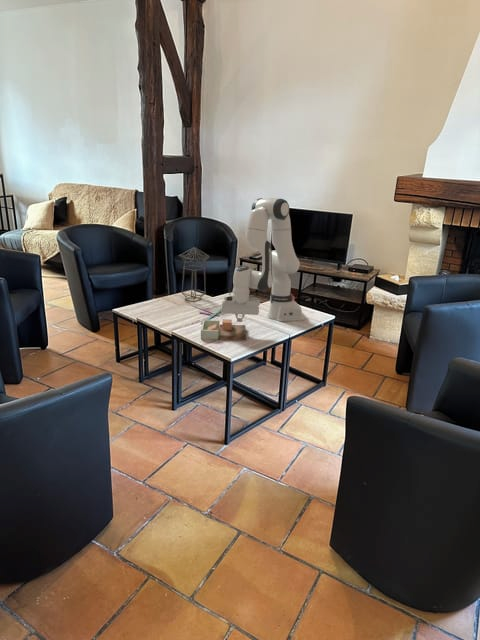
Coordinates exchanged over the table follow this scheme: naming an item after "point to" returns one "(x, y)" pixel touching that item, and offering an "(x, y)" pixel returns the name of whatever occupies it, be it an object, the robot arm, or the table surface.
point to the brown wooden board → (233, 333)
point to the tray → (209, 333)
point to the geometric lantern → (193, 270)
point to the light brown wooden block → (227, 324)
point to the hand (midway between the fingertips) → (239, 321)
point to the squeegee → (209, 314)
